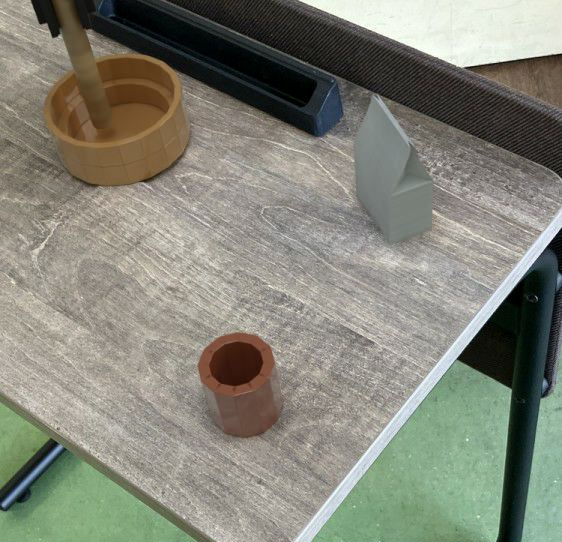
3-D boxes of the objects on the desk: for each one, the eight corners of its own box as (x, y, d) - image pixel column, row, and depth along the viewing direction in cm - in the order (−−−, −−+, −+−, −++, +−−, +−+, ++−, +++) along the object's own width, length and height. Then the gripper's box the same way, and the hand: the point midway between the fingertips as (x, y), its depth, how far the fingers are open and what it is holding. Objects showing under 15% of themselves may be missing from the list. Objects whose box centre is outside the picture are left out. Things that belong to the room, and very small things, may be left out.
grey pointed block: (390, 249, 77) (389, 156, 69) (356, 195, 81) (351, 101, 73) (431, 233, 78) (435, 140, 69) (395, 180, 81) (395, 86, 73)
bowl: (38, 179, 86) (20, 137, 82) (91, 90, 92) (77, 47, 88) (163, 198, 83) (151, 155, 79) (209, 105, 89) (199, 61, 85)
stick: (89, 128, 86) (32, -33, 73) (97, 113, 87) (43, -48, 74) (109, 131, 86) (56, -31, 72) (117, 116, 87) (66, -46, 73)
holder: (202, 432, 69) (187, 387, 64) (225, 374, 72) (212, 326, 67) (270, 446, 68) (260, 401, 63) (291, 387, 71) (283, 339, 66)
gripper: (101, -267, 65) (158, -24, 80) (-128, -216, 64) (-27, 19, 80) (116, -219, 61) (173, 28, 76) (-130, -164, 60) (-23, 75, 75)
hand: (70, 22), depth 78 cm, fingers closed on stick, 2 cm apart
